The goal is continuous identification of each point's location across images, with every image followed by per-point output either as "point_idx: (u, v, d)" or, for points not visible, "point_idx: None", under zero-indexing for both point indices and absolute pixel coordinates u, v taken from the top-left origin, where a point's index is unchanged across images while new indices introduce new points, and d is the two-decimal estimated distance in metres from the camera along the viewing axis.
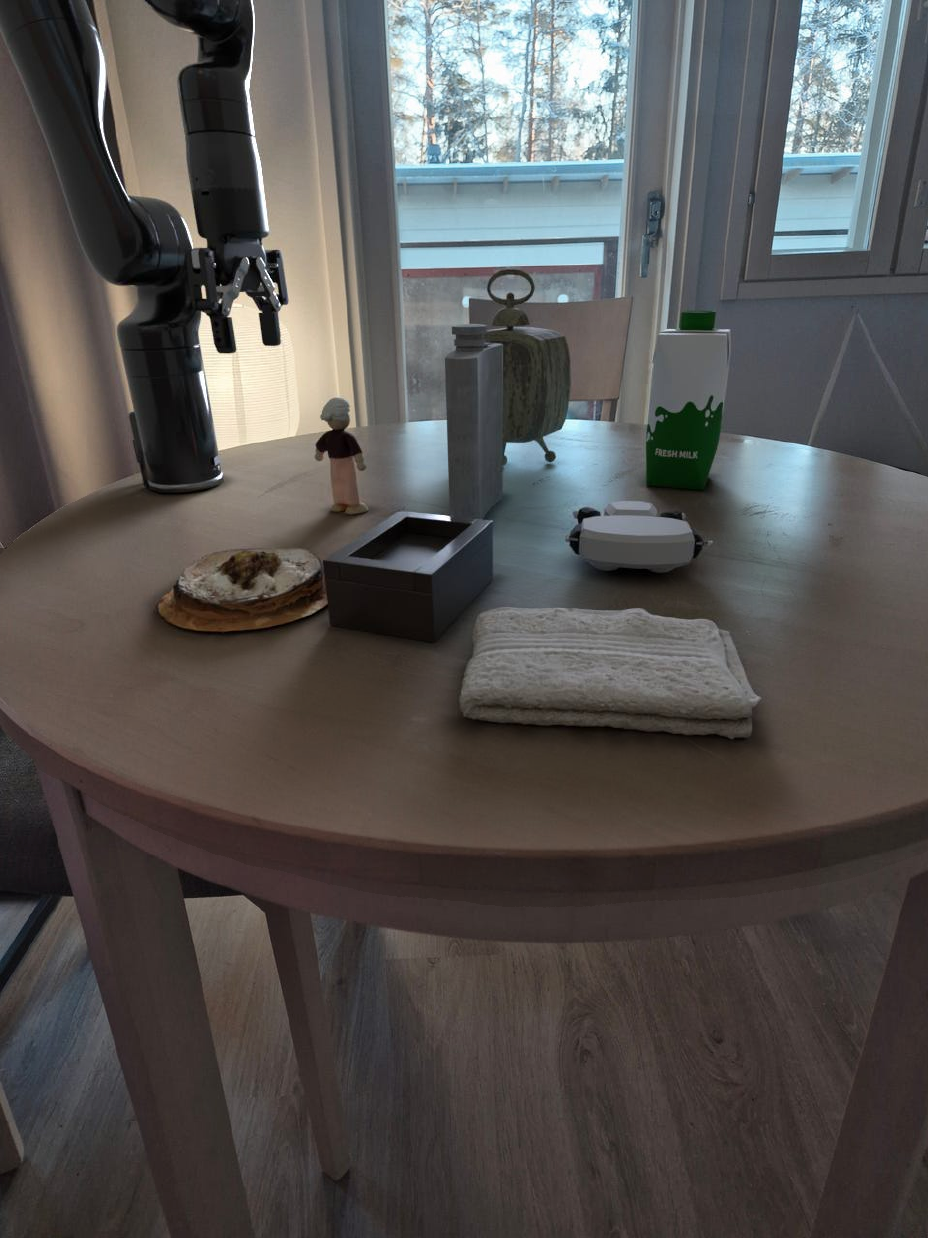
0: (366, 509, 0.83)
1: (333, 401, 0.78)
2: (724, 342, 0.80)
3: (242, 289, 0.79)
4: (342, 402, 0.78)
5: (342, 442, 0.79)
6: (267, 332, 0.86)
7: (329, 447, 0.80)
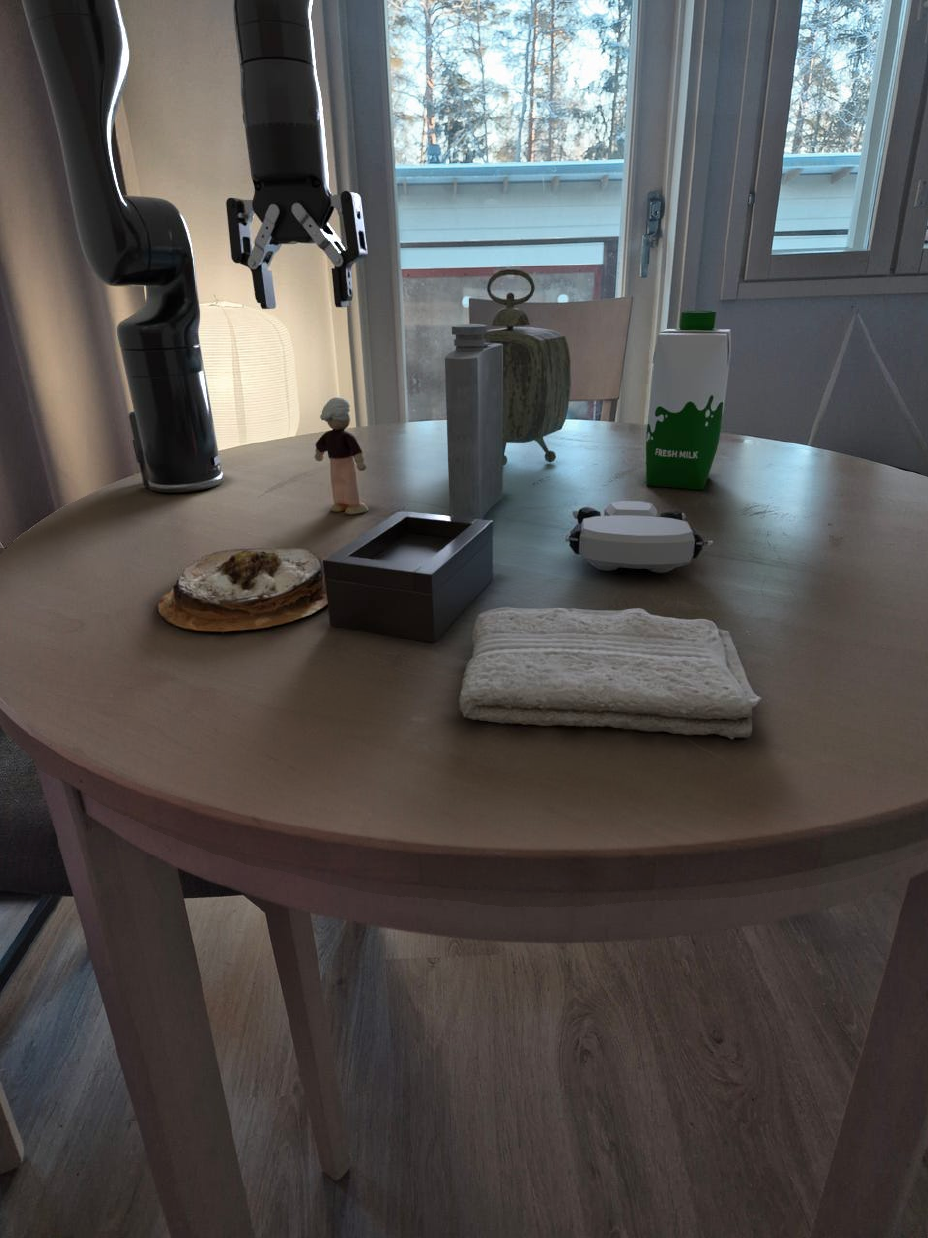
0: (366, 509, 0.83)
1: (333, 401, 0.78)
2: (724, 342, 0.80)
3: (283, 241, 0.73)
4: (342, 402, 0.78)
5: (342, 442, 0.79)
6: None
7: (329, 447, 0.80)
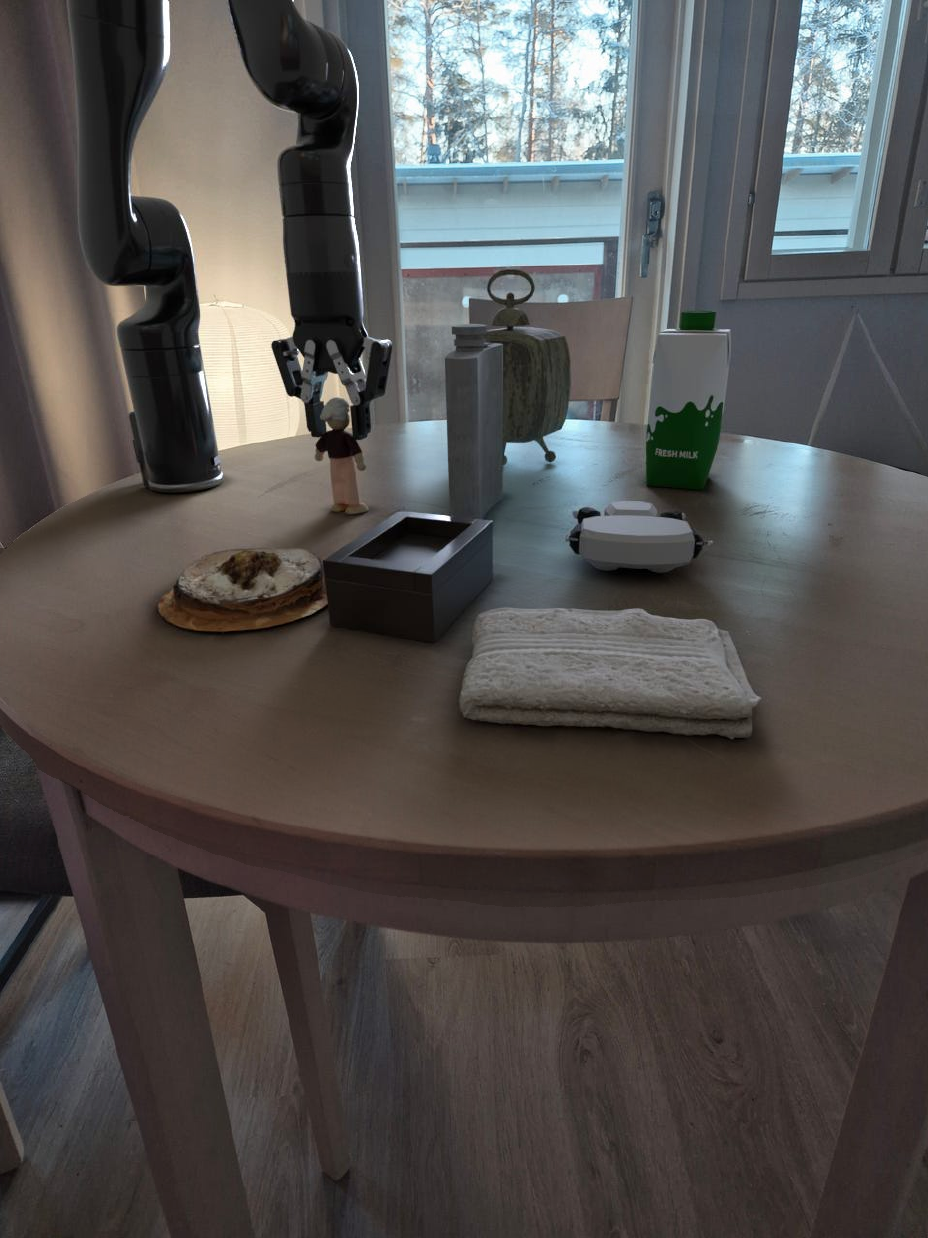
0: (366, 509, 0.83)
1: (332, 401, 0.78)
2: (724, 342, 0.80)
3: (319, 371, 0.77)
4: (342, 402, 0.78)
5: (342, 442, 0.79)
6: None
7: (329, 447, 0.80)
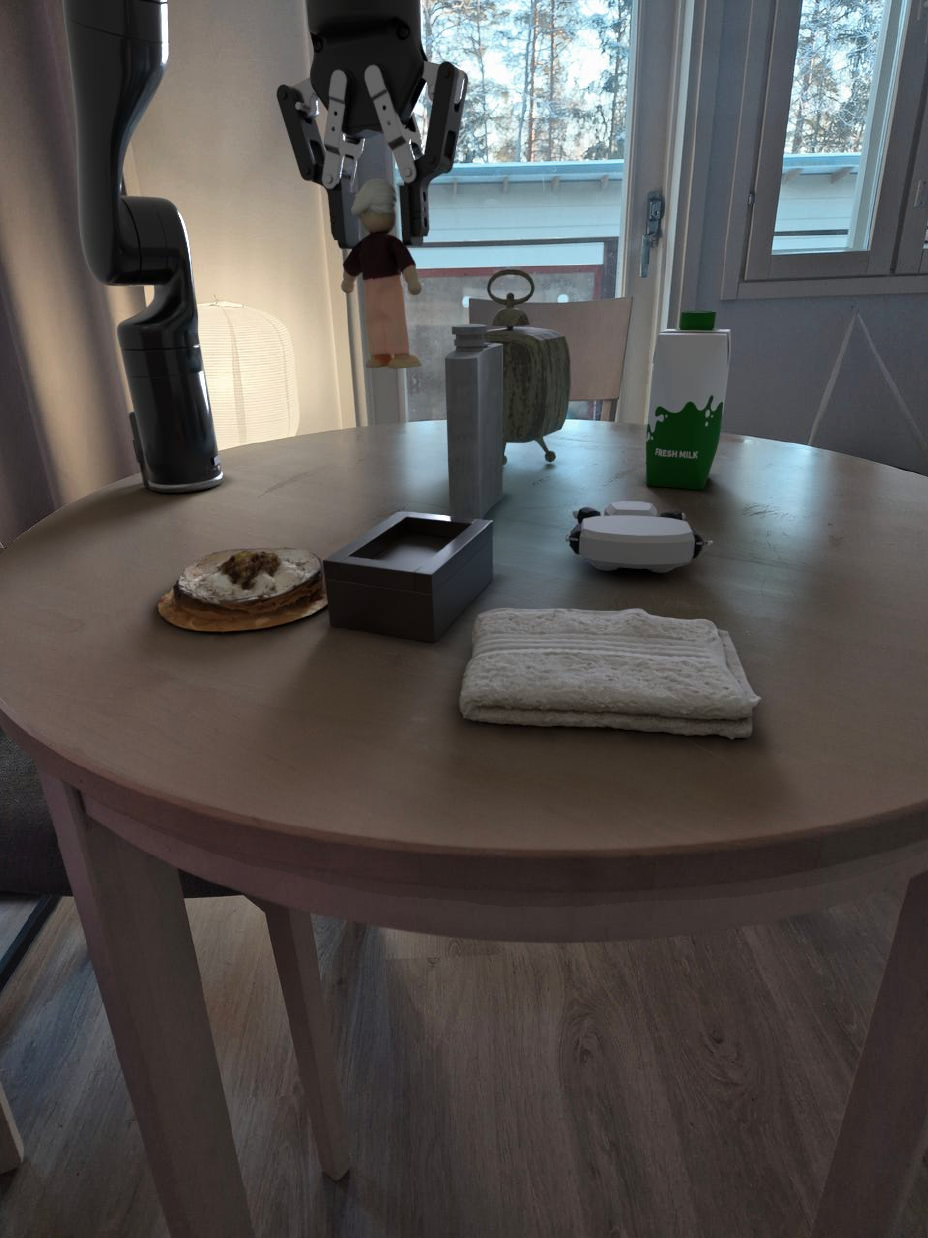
0: (419, 363, 0.55)
1: (371, 182, 0.50)
2: (724, 342, 0.80)
3: (352, 130, 0.49)
4: (386, 184, 0.50)
5: (386, 250, 0.52)
6: None
7: (365, 261, 0.53)
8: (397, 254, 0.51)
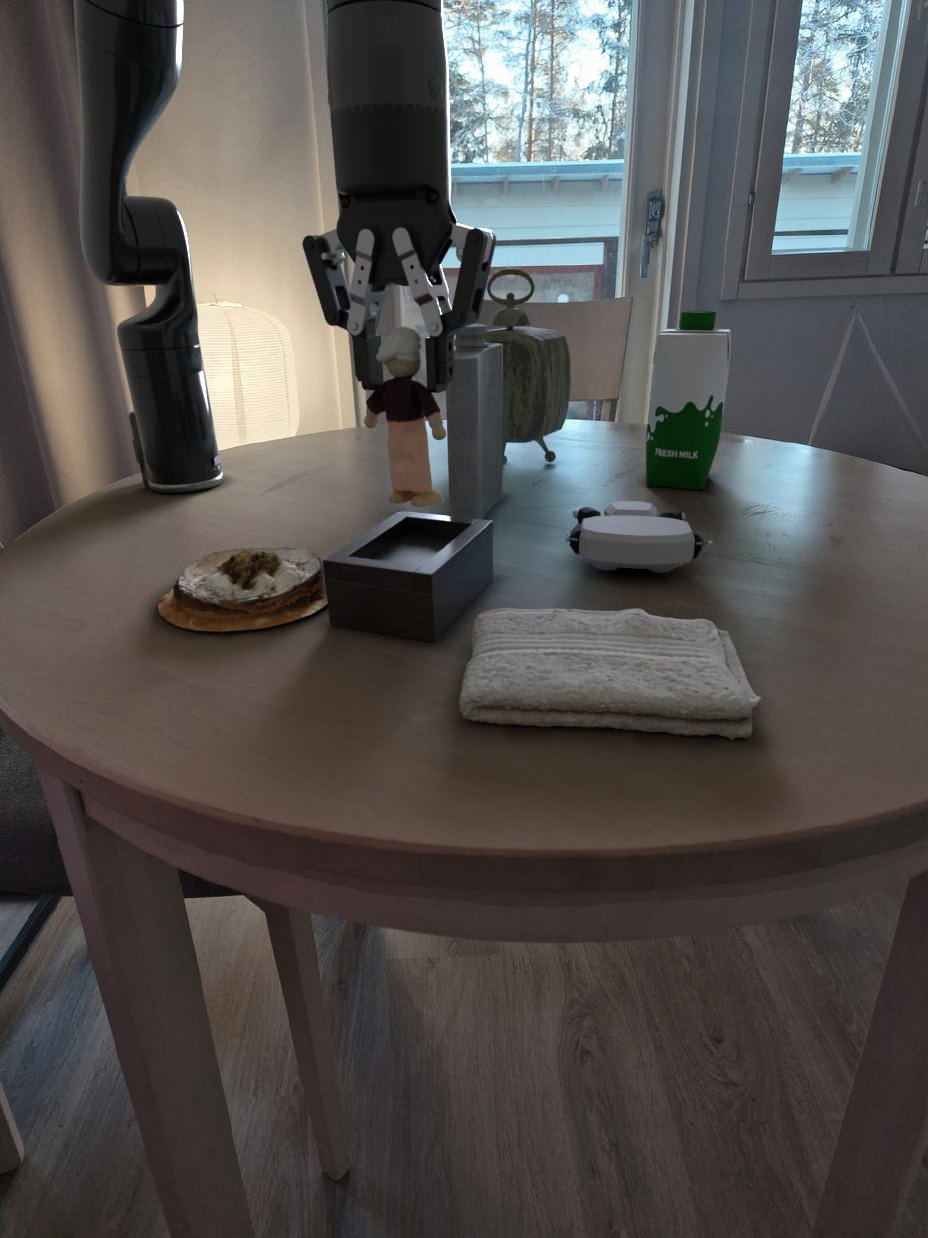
0: (442, 500, 0.55)
1: (397, 332, 0.50)
2: (724, 342, 0.80)
3: (378, 282, 0.49)
4: (411, 333, 0.50)
5: (410, 396, 0.51)
6: None
7: (389, 405, 0.52)
8: (422, 401, 0.51)
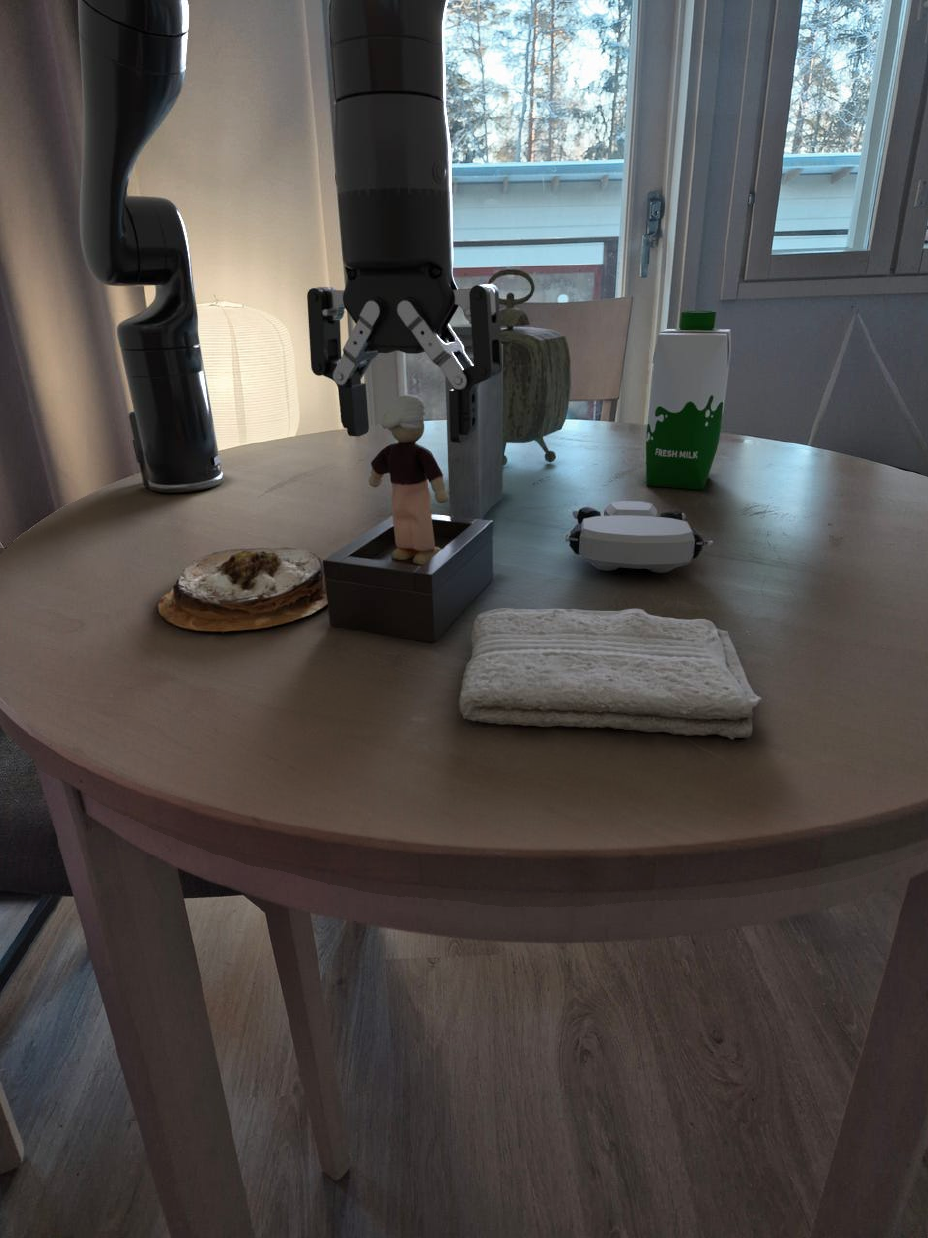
0: None
1: (401, 401, 0.52)
2: (724, 342, 0.80)
3: (383, 349, 0.51)
4: (415, 402, 0.52)
5: (414, 461, 0.53)
6: None
7: (393, 468, 0.54)
8: (425, 466, 0.53)
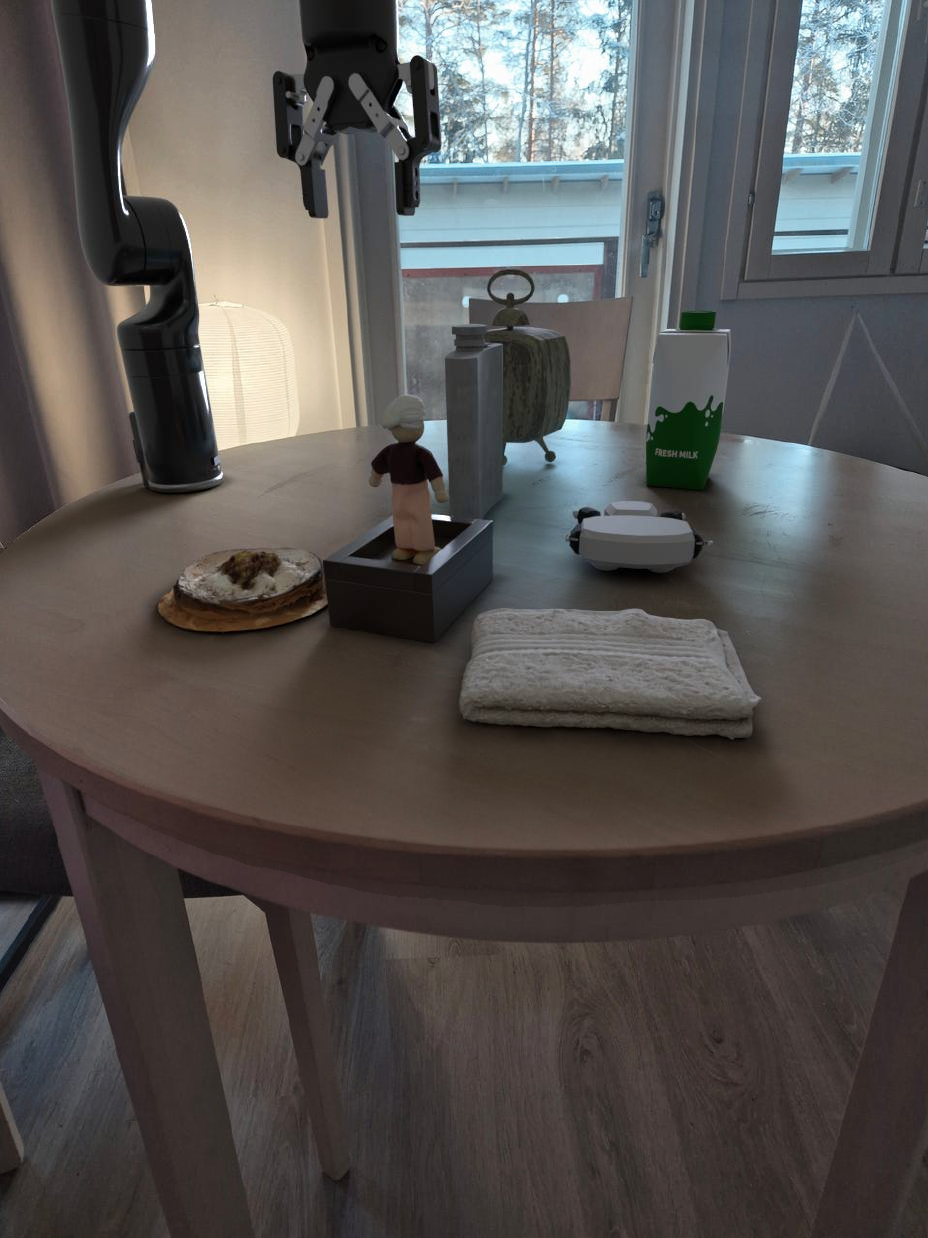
0: None
1: (401, 401, 0.52)
2: (724, 342, 0.80)
3: (338, 127, 0.58)
4: (415, 402, 0.52)
5: (414, 461, 0.53)
6: None
7: (393, 468, 0.54)
8: (425, 466, 0.53)
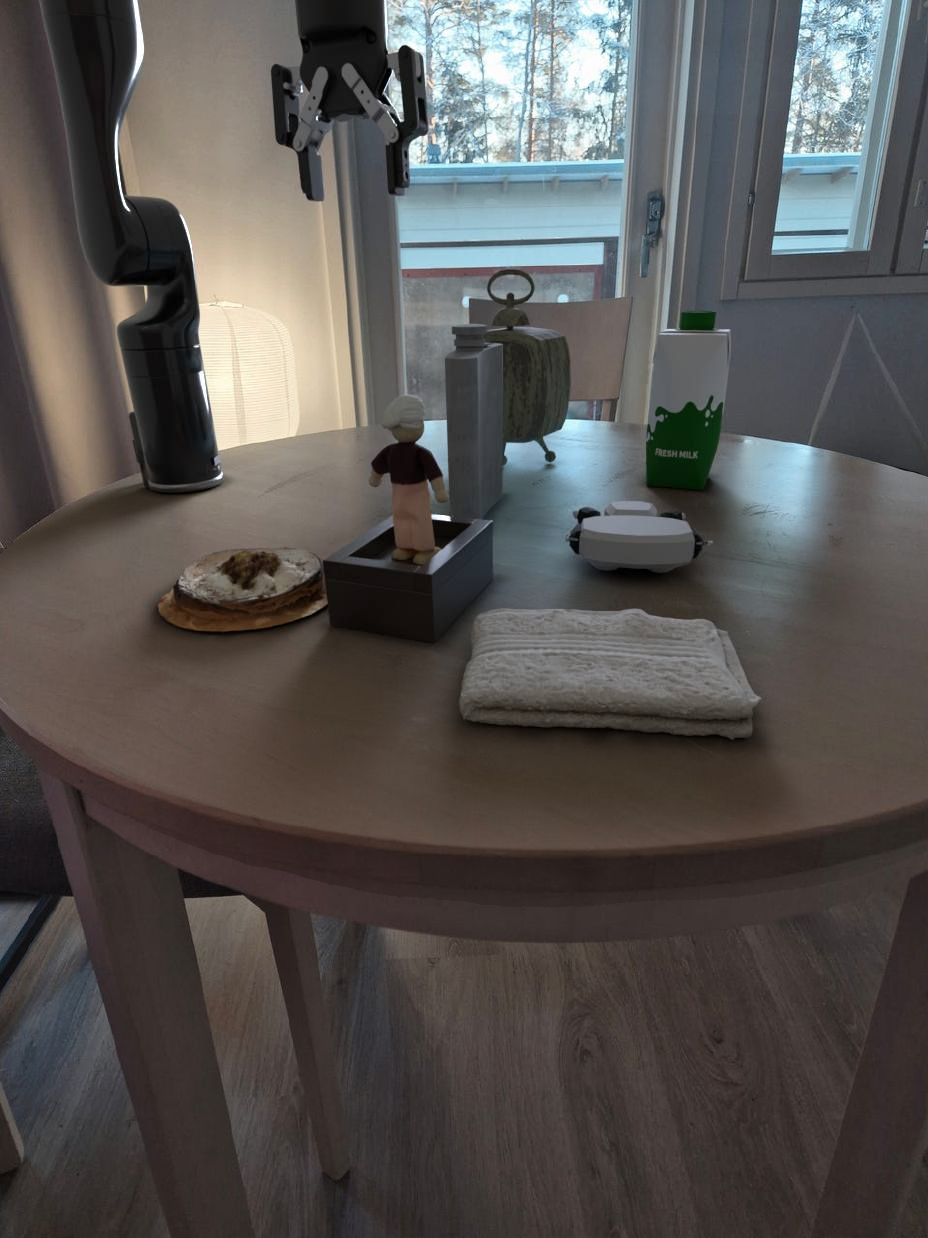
0: None
1: (401, 401, 0.52)
2: (724, 342, 0.80)
3: (332, 114, 0.63)
4: (415, 402, 0.52)
5: (414, 461, 0.53)
6: None
7: (393, 468, 0.54)
8: (425, 466, 0.53)
